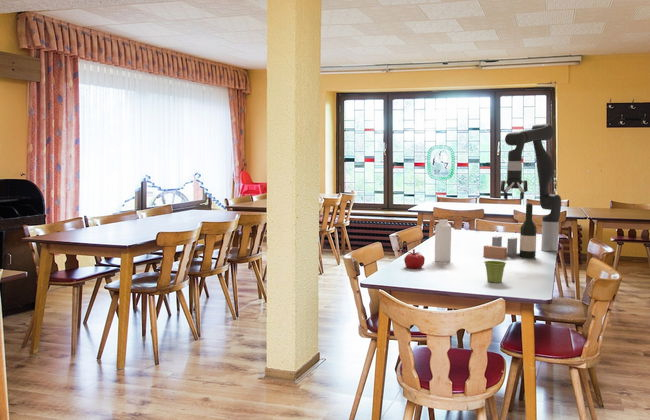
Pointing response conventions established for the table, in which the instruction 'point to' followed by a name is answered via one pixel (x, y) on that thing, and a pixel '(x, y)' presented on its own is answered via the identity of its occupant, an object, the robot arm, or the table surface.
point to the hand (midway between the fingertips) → (513, 199)
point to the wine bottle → (528, 235)
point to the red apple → (414, 260)
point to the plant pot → (494, 270)
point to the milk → (443, 241)
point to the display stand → (510, 247)
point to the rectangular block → (495, 252)
